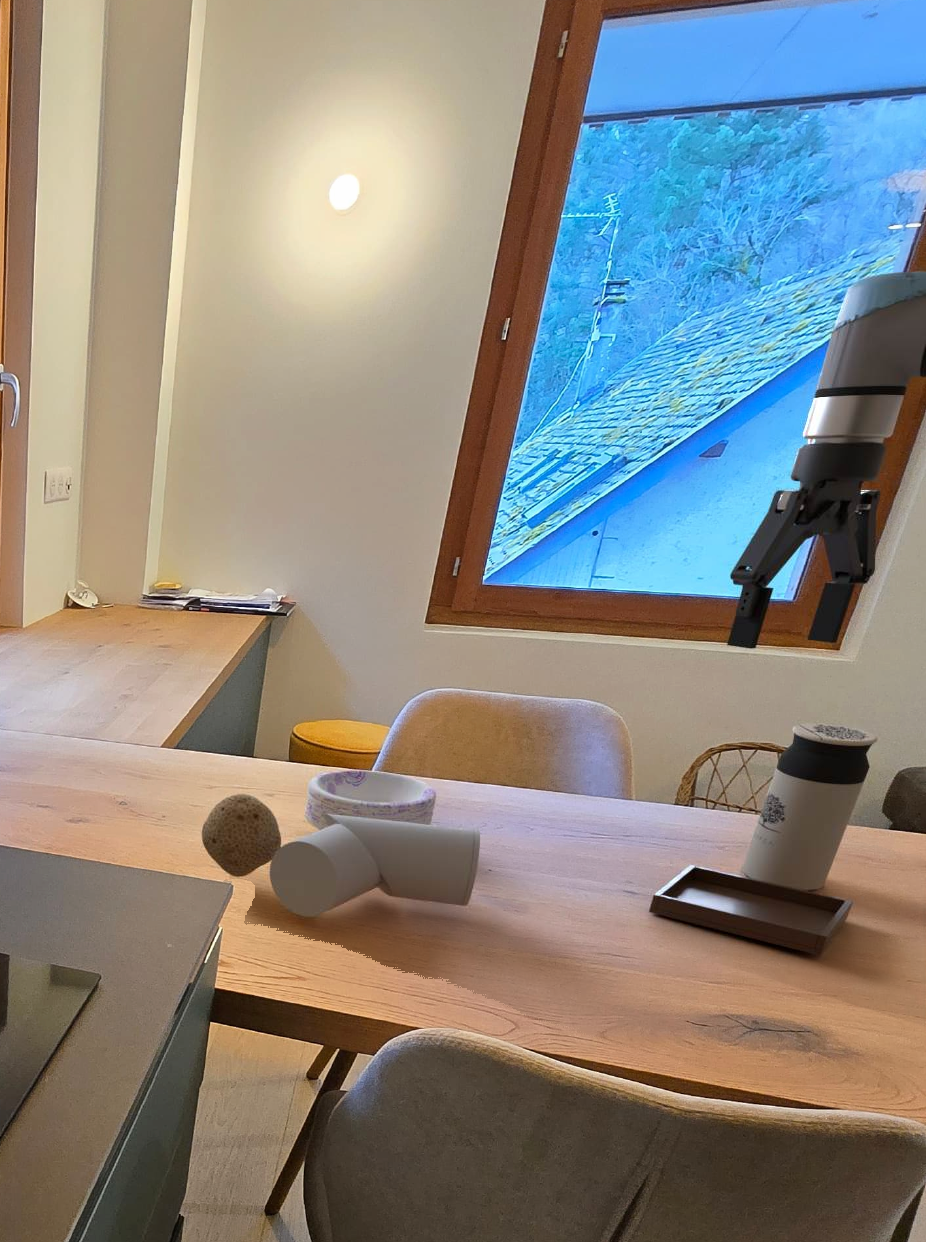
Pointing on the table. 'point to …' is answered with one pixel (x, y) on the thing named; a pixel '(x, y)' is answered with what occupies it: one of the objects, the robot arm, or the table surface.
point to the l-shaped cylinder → (375, 864)
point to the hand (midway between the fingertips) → (781, 644)
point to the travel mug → (808, 805)
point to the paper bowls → (369, 797)
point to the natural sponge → (241, 834)
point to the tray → (753, 908)
